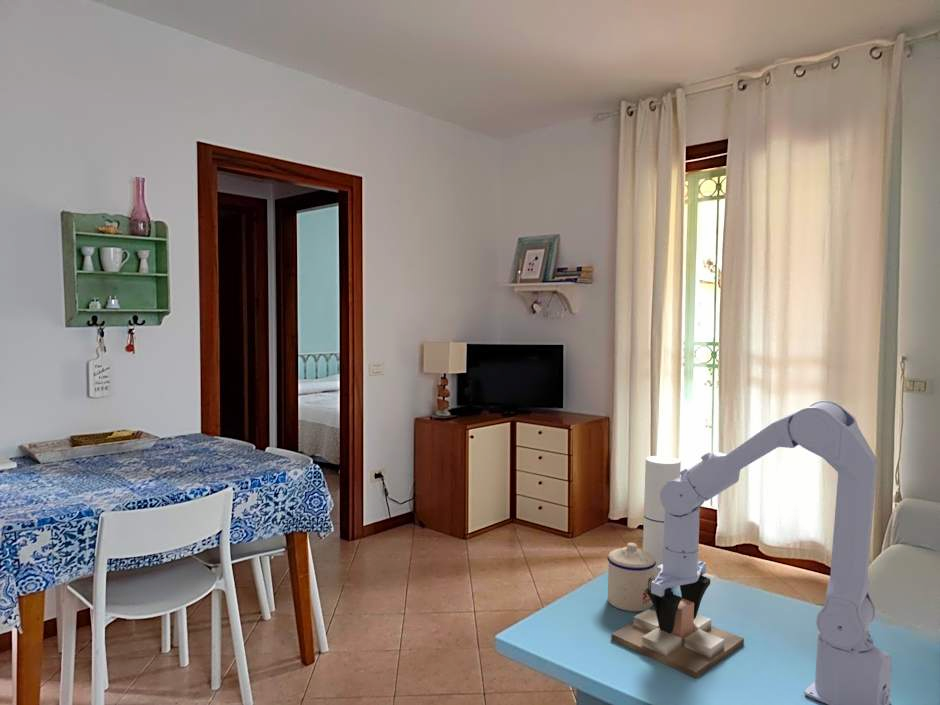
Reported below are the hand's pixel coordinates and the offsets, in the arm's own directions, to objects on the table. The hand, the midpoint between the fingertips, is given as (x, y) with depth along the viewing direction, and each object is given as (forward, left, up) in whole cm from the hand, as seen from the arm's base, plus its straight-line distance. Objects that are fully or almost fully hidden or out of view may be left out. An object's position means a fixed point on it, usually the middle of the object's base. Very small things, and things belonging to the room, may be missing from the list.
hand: (677, 623), depth 117 cm
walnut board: (0, 0, -3) cm, 3 cm away
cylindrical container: (+18, -23, -3) cm, 29 cm away
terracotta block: (0, 0, -2) cm, 2 cm away
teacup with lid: (+15, -8, -3) cm, 17 cm away
